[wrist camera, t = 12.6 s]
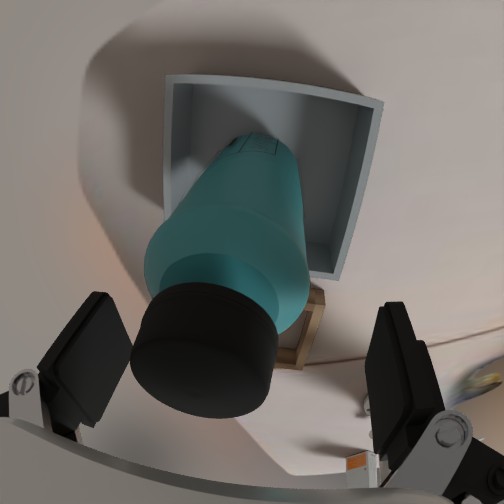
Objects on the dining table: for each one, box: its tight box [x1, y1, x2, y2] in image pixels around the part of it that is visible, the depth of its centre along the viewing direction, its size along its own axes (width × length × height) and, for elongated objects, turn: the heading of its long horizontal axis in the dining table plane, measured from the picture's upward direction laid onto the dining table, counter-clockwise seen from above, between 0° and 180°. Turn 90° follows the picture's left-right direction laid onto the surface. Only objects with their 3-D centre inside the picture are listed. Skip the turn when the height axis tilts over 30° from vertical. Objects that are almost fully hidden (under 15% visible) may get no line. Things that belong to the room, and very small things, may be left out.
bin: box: [163, 74, 384, 281], centre depth 23 cm, size 14×14×6 cm
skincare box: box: [346, 451, 377, 489], centre depth 52 cm, size 6×4×12 cm
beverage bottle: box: [130, 132, 310, 419], centre depth 16 cm, size 6×7×20 cm
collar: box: [274, 288, 325, 370], centre depth 34 cm, size 11×11×2 cm
